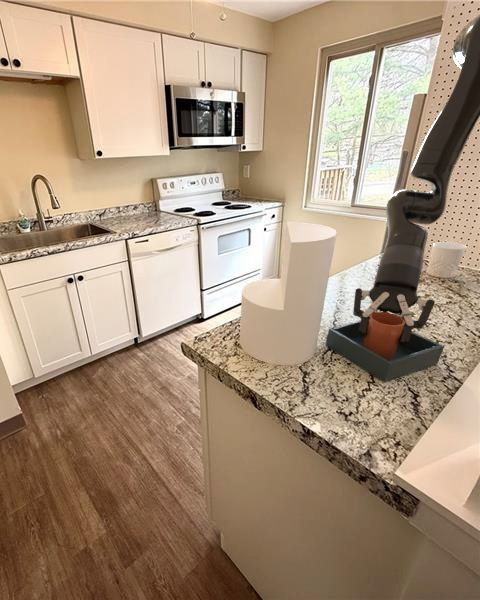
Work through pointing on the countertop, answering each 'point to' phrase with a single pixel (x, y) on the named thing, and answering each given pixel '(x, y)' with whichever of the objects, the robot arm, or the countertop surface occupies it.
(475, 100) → the robot arm
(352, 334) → the tub
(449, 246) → the white cup
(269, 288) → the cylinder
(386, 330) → the tumbler
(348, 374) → the countertop surface
